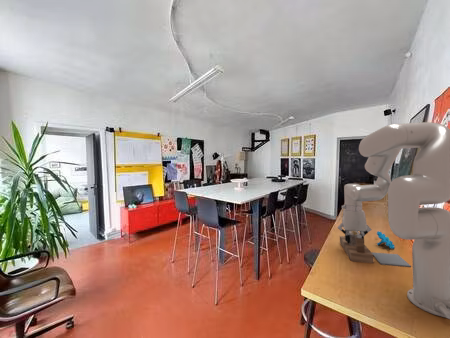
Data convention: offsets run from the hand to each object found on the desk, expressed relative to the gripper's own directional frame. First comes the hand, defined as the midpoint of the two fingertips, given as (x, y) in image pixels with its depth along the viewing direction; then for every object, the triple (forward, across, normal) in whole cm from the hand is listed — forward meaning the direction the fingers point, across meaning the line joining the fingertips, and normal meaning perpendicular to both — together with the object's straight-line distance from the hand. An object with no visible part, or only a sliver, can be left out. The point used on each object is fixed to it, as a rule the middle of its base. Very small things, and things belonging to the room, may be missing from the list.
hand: (354, 242), depth 103 cm
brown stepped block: (+5, 0, 0) cm, 5 cm away
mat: (+5, +12, -6) cm, 15 cm away
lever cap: (+1, 0, 0) cm, 1 cm away
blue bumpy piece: (+5, +17, +10) cm, 21 cm away
